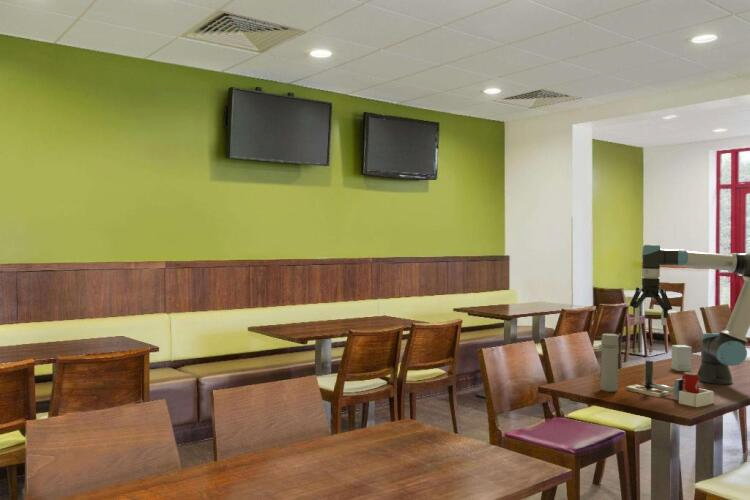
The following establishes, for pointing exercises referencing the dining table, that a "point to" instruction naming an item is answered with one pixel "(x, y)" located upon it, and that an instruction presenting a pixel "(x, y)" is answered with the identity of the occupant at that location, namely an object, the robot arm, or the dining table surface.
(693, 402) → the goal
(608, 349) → the water bottle
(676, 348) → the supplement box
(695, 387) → the beverage can
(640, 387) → the panel
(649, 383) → the metal lever handle
